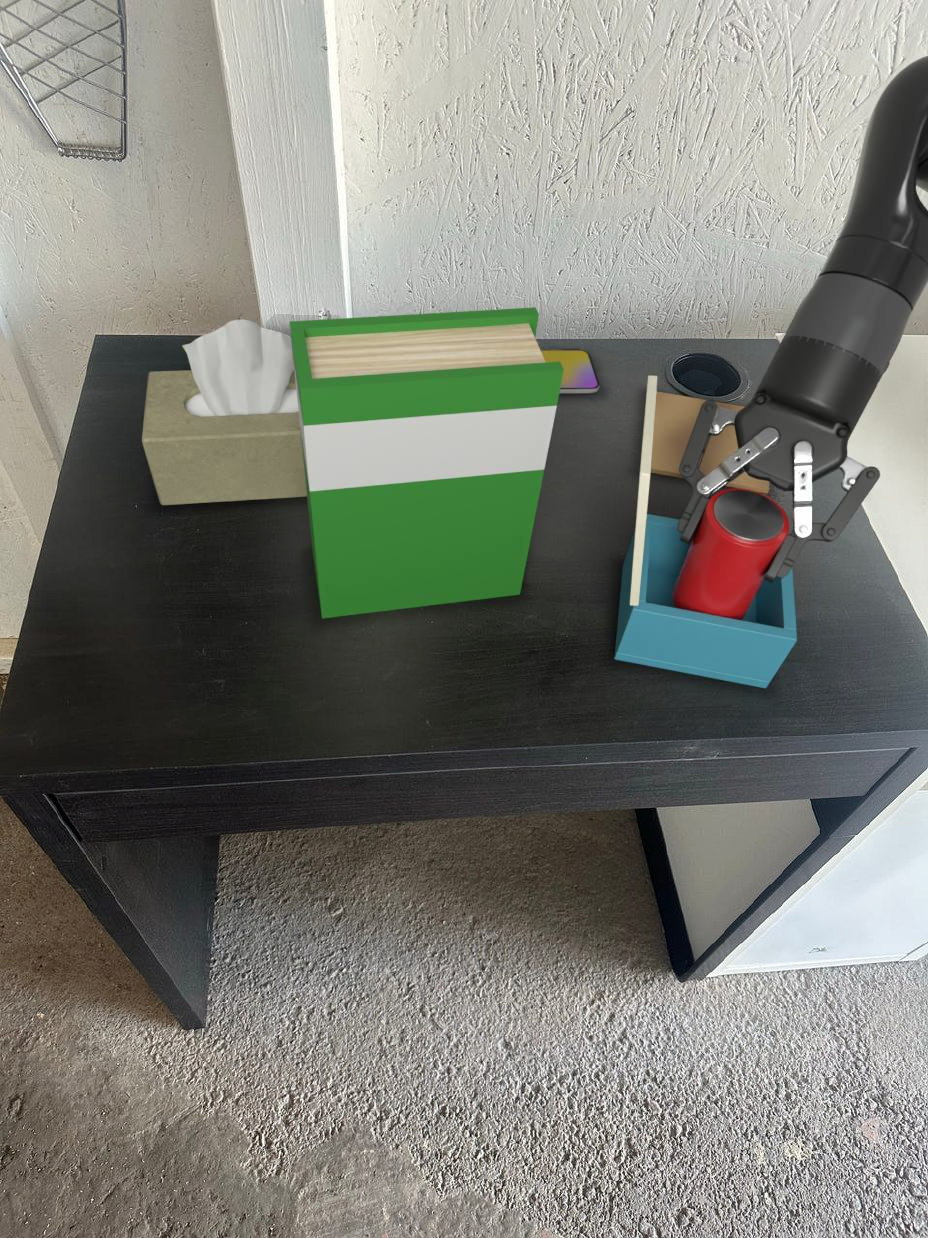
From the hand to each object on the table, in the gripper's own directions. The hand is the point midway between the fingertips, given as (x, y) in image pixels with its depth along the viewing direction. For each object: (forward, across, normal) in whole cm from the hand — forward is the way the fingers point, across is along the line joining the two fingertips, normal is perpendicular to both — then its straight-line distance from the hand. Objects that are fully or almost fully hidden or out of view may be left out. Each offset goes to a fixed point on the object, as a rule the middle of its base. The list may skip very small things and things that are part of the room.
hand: (726, 561), depth 65 cm
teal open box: (+6, -1, +10) cm, 12 cm away
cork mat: (-11, -9, +27) cm, 30 cm away
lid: (-2, -7, -2) cm, 8 cm away
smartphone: (-10, -30, +26) cm, 41 cm away
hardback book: (+13, -24, +3) cm, 27 cm away
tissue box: (+11, -44, +5) cm, 46 cm away
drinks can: (+4, 0, +6) cm, 7 cm away
